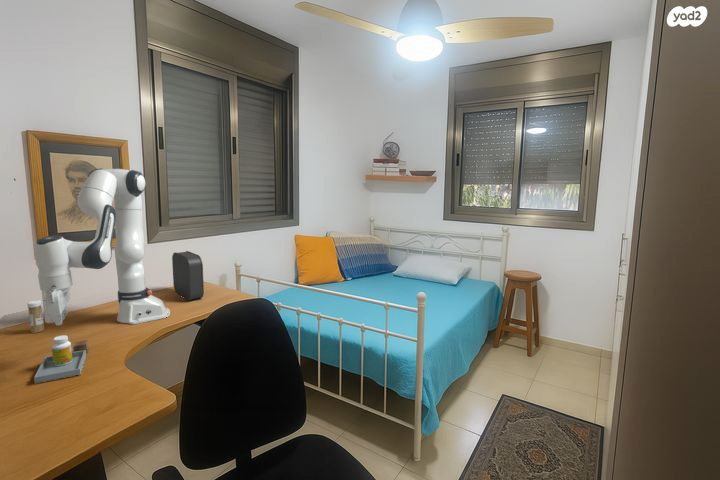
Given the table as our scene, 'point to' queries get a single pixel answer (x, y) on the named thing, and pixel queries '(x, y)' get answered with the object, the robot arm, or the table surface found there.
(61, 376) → the tray
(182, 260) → the speaker
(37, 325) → the sprinkles bottle
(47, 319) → the cylindrical container
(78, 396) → the table surface
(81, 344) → the walnut block
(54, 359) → the supplement bottle
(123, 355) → the table surface
